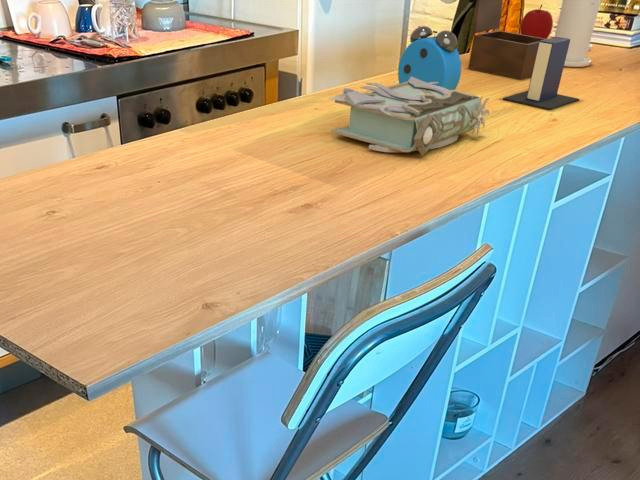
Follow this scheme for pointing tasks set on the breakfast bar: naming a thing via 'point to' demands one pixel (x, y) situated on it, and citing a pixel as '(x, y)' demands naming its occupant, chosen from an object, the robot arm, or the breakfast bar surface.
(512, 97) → the mat
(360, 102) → the ornate book
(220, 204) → the breakfast bar surface
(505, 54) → the chest
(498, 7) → the lid
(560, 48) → the book
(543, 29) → the apple
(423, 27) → the alarm clock
